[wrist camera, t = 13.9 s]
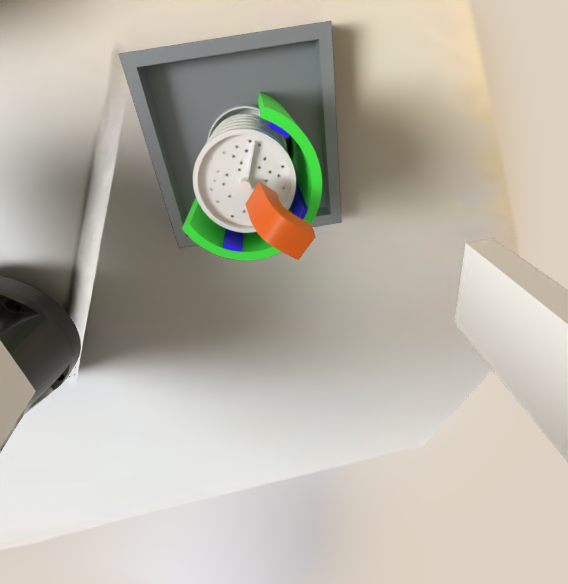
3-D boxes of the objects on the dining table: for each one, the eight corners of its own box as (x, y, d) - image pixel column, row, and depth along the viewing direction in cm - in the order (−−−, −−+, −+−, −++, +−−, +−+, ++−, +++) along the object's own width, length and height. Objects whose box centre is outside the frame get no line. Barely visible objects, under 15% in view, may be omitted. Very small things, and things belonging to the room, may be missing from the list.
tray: (183, 235, 38) (179, 248, 36) (129, 54, 30) (118, 53, 27) (335, 211, 38) (341, 222, 36) (324, 24, 30) (331, 20, 27)
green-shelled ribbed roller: (227, 75, 31) (209, 86, 15) (314, 117, 33) (373, 163, 18) (195, 178, 35) (156, 268, 19) (274, 209, 37) (294, 312, 22)
